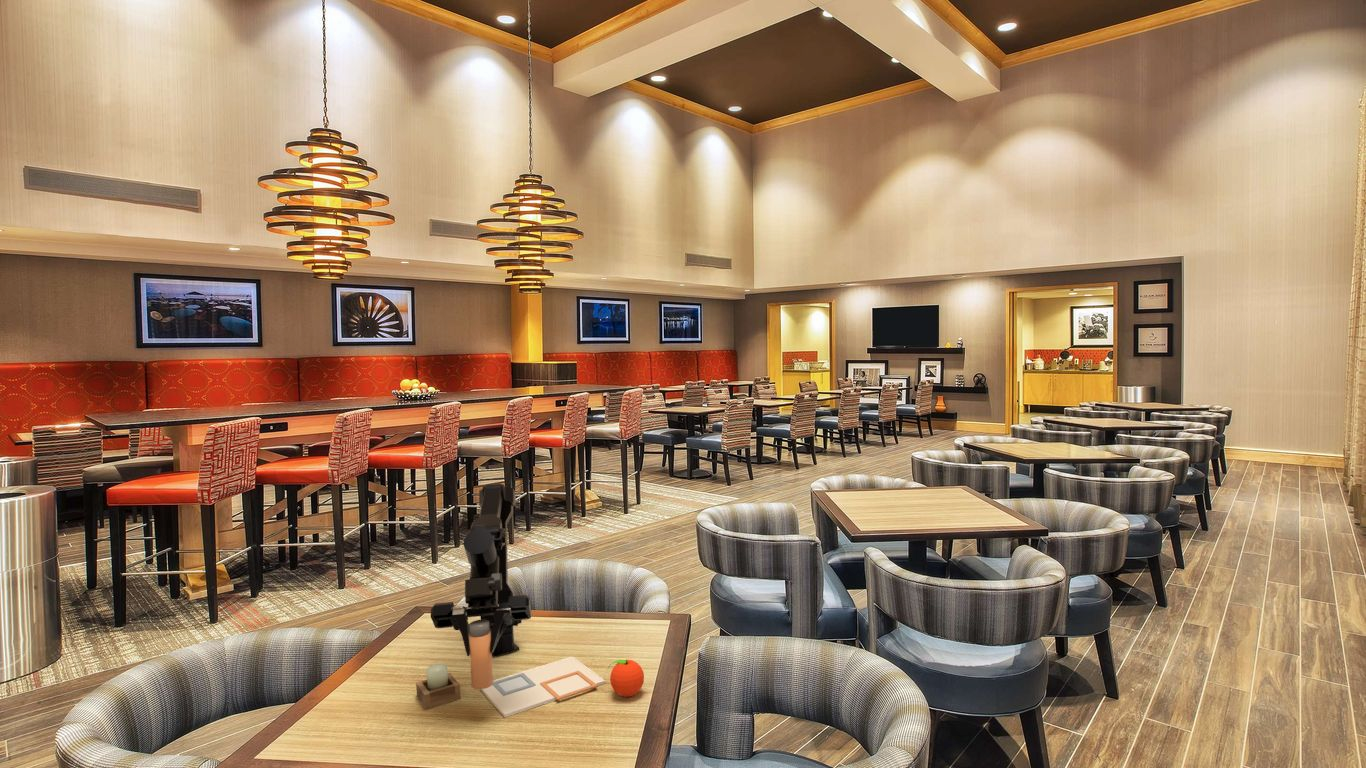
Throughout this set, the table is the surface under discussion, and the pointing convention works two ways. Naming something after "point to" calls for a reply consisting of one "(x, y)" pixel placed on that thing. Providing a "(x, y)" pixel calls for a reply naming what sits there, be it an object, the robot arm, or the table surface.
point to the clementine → (626, 677)
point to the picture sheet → (541, 686)
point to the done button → (437, 676)
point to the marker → (480, 654)
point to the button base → (438, 693)
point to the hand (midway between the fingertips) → (479, 653)
